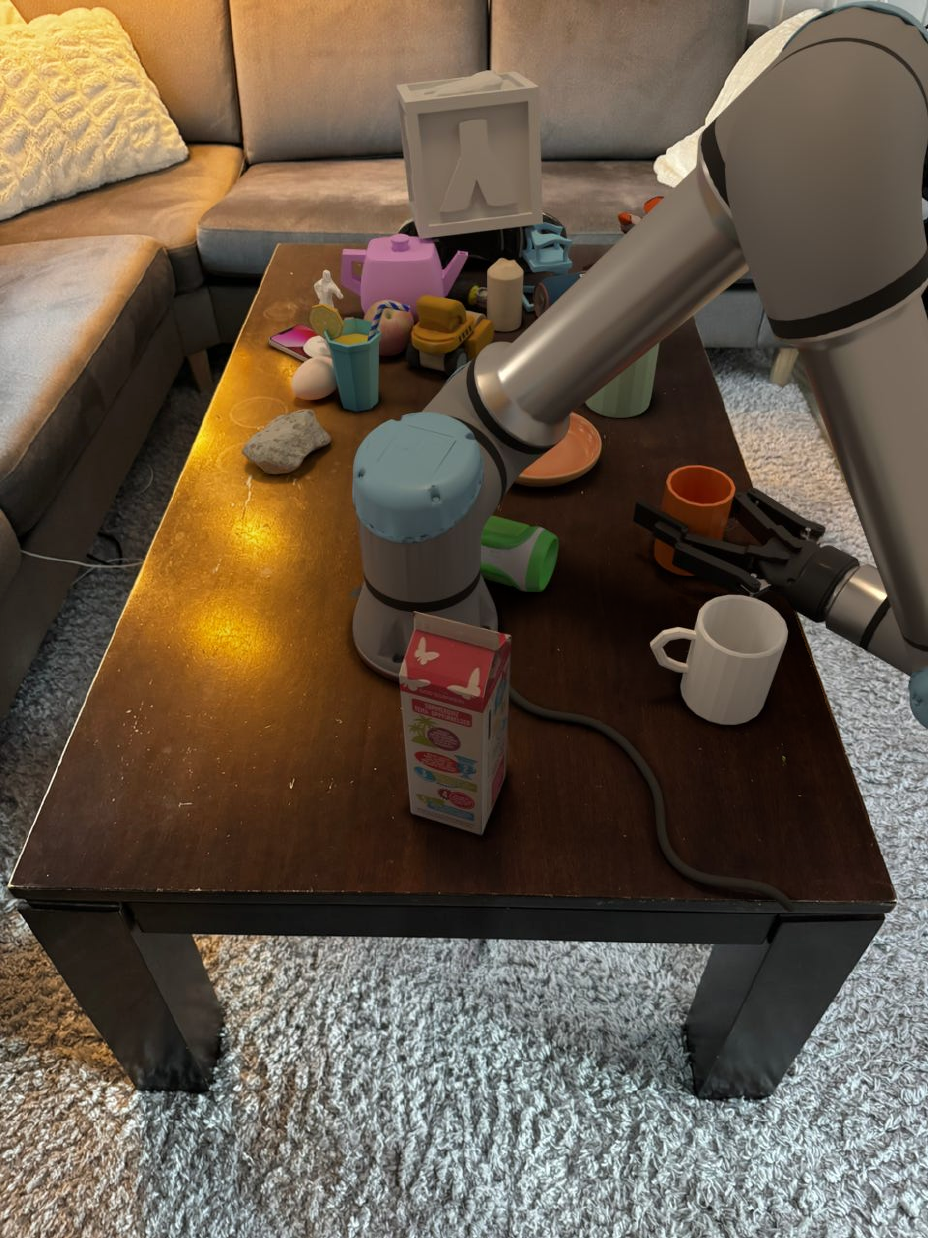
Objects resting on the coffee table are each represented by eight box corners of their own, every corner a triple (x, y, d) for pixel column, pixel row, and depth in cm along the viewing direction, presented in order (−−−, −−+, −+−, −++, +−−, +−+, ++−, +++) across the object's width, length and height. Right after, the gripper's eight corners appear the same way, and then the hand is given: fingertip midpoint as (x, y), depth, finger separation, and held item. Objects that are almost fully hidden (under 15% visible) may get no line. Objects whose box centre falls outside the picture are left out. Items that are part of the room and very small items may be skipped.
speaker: (532, 602, 95) (551, 589, 102) (547, 536, 93) (565, 527, 100) (384, 559, 100) (412, 549, 107) (395, 495, 98) (422, 489, 105)
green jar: (662, 408, 126) (675, 328, 117) (605, 423, 123) (614, 343, 114) (627, 377, 132) (638, 298, 123) (572, 391, 129) (579, 312, 120)
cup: (417, 388, 130) (412, 288, 119) (411, 418, 124) (406, 315, 114) (321, 385, 131) (308, 285, 120) (312, 415, 125) (297, 313, 114)
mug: (636, 661, 92) (650, 591, 85) (754, 664, 92) (778, 594, 85) (644, 723, 87) (659, 654, 80) (770, 726, 86) (796, 657, 79)
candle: (481, 319, 144) (481, 258, 137) (511, 312, 146) (513, 251, 139) (496, 334, 141) (497, 272, 134) (527, 327, 142) (530, 265, 135)
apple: (397, 375, 136) (381, 337, 129) (362, 356, 139) (344, 318, 132) (430, 339, 137) (416, 300, 130) (395, 321, 141) (379, 282, 134)
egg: (322, 362, 131) (279, 387, 128) (328, 340, 126) (284, 365, 123) (346, 390, 131) (303, 416, 127) (353, 370, 126) (309, 396, 122)
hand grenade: (432, 280, 145) (482, 294, 141) (449, 267, 147) (499, 281, 143) (436, 305, 149) (485, 320, 144) (452, 292, 151) (501, 306, 146)
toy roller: (497, 340, 139) (497, 274, 131) (455, 387, 130) (452, 319, 122) (446, 329, 142) (443, 264, 134) (402, 374, 133) (396, 307, 125)
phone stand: (576, 306, 147) (582, 232, 138) (527, 312, 146) (530, 237, 137) (561, 285, 152) (566, 213, 144) (514, 291, 151) (516, 218, 142)
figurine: (293, 346, 134) (293, 266, 126) (328, 334, 139) (329, 256, 131) (326, 365, 132) (328, 284, 124) (361, 351, 136) (365, 273, 128)
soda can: (612, 322, 145) (543, 334, 143) (595, 291, 148) (528, 303, 145) (623, 288, 139) (552, 300, 136) (605, 257, 142) (535, 268, 139)
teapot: (340, 334, 141) (331, 254, 132) (347, 298, 150) (339, 220, 141) (468, 333, 141) (468, 253, 132) (468, 297, 149) (467, 219, 140)
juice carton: (437, 755, 84) (429, 583, 69) (505, 775, 82) (512, 603, 67) (410, 813, 80) (395, 643, 64) (481, 835, 78) (483, 666, 62)
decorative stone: (325, 482, 114) (321, 449, 111) (240, 483, 114) (233, 450, 111) (334, 428, 123) (330, 395, 119) (255, 428, 123) (249, 396, 119)
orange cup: (729, 565, 102) (748, 494, 95) (676, 583, 100) (691, 512, 93) (693, 528, 107) (709, 458, 100) (641, 545, 105) (654, 475, 98)
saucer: (583, 506, 110) (585, 486, 108) (460, 481, 114) (459, 462, 112) (611, 436, 121) (613, 416, 118) (497, 415, 124) (498, 396, 122)
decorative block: (409, 209, 153) (394, 73, 141) (520, 196, 154) (515, 59, 142) (419, 239, 138) (403, 89, 126) (542, 224, 139) (538, 74, 127)
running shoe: (570, 212, 148) (570, 192, 157) (394, 202, 149) (403, 182, 158) (563, 281, 155) (563, 258, 164) (395, 270, 156) (404, 248, 165)
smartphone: (333, 372, 131) (265, 338, 138) (334, 378, 132) (266, 344, 139) (369, 354, 135) (301, 322, 142) (369, 360, 136) (301, 327, 143)
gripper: (778, 671, 88) (597, 560, 100) (879, 574, 98) (704, 483, 110) (797, 617, 83) (604, 507, 94) (902, 520, 93) (716, 431, 104)
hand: (658, 494), depth 102 cm, fingers closed on orange cup, 7 cm apart
